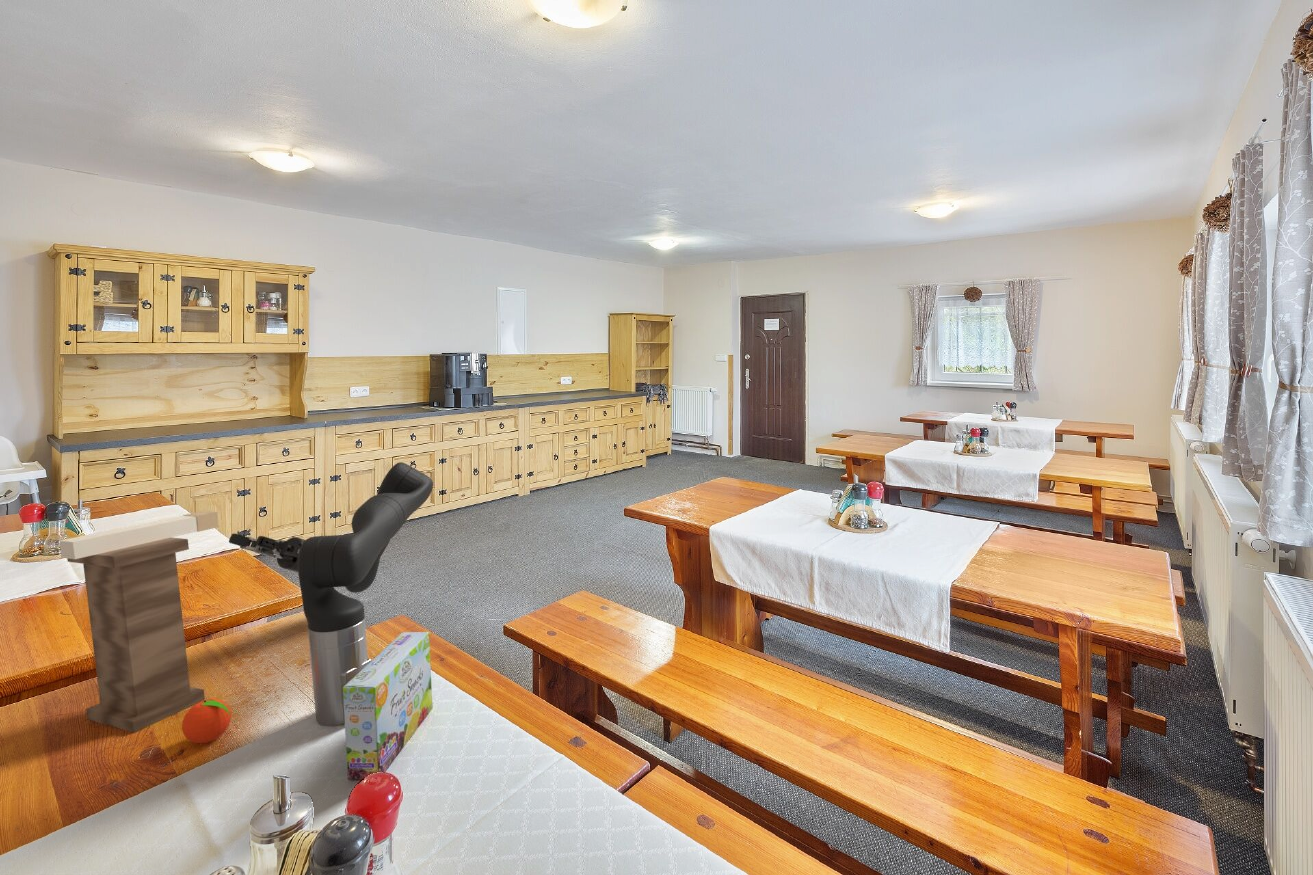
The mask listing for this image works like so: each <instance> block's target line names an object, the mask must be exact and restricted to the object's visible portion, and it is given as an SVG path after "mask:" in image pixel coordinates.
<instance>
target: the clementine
mask: <svg viewBox="0 0 1313 875" xmlns="http://www.w3.org/2000/svg"><path fill="white" fill-rule="evenodd" d="M232 715H233V714H232V710H231V708H230V707H229V705H228V704H227V703H226V702H225V701H223V700H220V699H216V698H208V699H204V700H202V701H200V702H198V703H196V704H194V705H192V706H191V707H190V708H189V710H187V712H186V713H185V715H184V716H183V720H182V723H181V730H182V734H183V735H184V737H185V738H186V739H187V740H189V741H191V742H192V743H196V744H206V743H210V742H213V741H215V740H216V739H219V738H220V737H221V736H222V735H223V734H225V732H226V731H227V729H228V728H229V727H230V725H231V722H232Z"/></svg>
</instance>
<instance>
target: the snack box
mask: <svg viewBox="0 0 1313 875" xmlns="http://www.w3.org/2000/svg"><path fill="white" fill-rule="evenodd" d="M430 647H431V644H430V631H417V632H416V631H414V632H413V631H412V632H407V631H406V632H401V633H400V634H399V635H398V636H397V637H396V638H395V639H394V640H393V641H392V642H390V643H389V644H388V645H387V646H386V647H385V648H384V649H383V650H382V651H381V652H380V653H379V654H378V655H376V656H375V657H374V658H373V659H371V660H372V661H371V662H370V663H369V664H368V665H367V666H366V667H365V668H364V669H362V670H361V671H360V672H359V673H358V674H357V675H356V676H355V677H354V678H353V679H352V680H351V681H349V682H348V683H347V684H346V685H345V686H344V687H343V700H344V717H345V724H344V728H345V729H344V731H345V746H346V748H345V750H346V765H347V767H346V768H347V780H348V781H349V780H359V781H361V780H362V779H364V778H365V777H367V776H368V775H370V774H373V773H377V772H387V770H388V769H389V767H390V766H391V764H392V763H393V762H394V761H395V759H396V758H397V757H398V755H399V754H400V752H401V751H402V750H403V748H404V747H405V746H406V745H407V743H408V742H409V741H410V739H411V738H412V736H413V735H414V733H416V731H417V729H418V728H419V727H420V726H421V725H422V724H423V722H424V721H425V719H426V718H427V717H428V715H429V714H430V712H432V710H433V707H434V705H433V688H432V672H431V671H432V669H431V648H430Z"/></svg>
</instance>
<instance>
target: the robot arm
mask: <svg viewBox="0 0 1313 875" xmlns="http://www.w3.org/2000/svg"><path fill="white" fill-rule="evenodd" d="M385 474H386V475H385V476H384V478H383V479H382V481H381V483H380V485H379V488H378V490H377V494H376V495H373V496H371V497H370V498H368V499H367V500H366V501H364V502H363V504H361V505H360V506H359V507H358V508H357V509H356V511H355V512H354V514H353V515H352V519H351V528H352V529H351V530H352V532H353V533H349V534H334V535H318V536H309V537H308V538H307V539H303V538H301V537H296V536H295V537H290V538H288V539H286V540H283V539H273V538H270V537H267V536H264V535H258V537H257V538H253V537H252V536H247V535H242V534H238V533H232V534H231V535H230V538H229V539H228V543H229V544H231V545H235V546H239V548H240V549H241V550H247V551H250V552H253V553H255V554H259V555H262V556H263V555H264V556H266V557H268V558H273V559H276V562H277V564H278V566H279V567H280V568H281V569H284V570H288V571H292V572H295V573H297V574H298V581H299V586H300V591H301V592H300V594H301V599H302V607H303V614H304V616H305V619H306V622H307V630H308V642H309V654H310V667H311V677H312V678H311V679H312V691H313V700H314V710H315V721H316V720H317V721H316V722H317V723H318V724H319V723H320V724H319V725H322V726H330V727H331V726H340V725H345V717H344V700H343V687H344V686H345V685H346V684H347V683H348V682H349V681H351V680H352V679H353V678H354V677H355V676H356V675H357V674H358V673H359V672H360V671H361V670H362V669H364V668H365V667H366V666H367V665H368V664H369V663H370V662H371V661H372V660H373V659H371V658H369V657H368V646H367V645H368V644H367V643H368V642H367V631H366V629H367V628H366V620H365V618H366V616H365V607H364V604H363V602H361V601H360V600H359V599H356V598H353V597H349V596H347V595H344V594H343V593H341V592H339V591H338V590H337V589H336V588H342V587H343V588H345V589H346V590H347V591H348V592H350V593H355V594H358V593H362V592H364V591H366V590H367V589H369V588H370V587H371V585H372V584H373V583H374V581H375V579H376V577H377V573H378V569H379V566H380V559H381V557H382V555H383V554H384V552H385V551H386V549H387V547H388V546H389V543H390V541H391V539H392V538H393V537H394V536H396V535H397V533H398V532H399V531H400V529H401V528H402V527H403V526H404V524H405V523H406V522H407V521H408V519H409V517H411V515H413V514H414V513H415V512H416V511H418V509H420V508H421V506H423V504H425V503H426V501H427V500H428V499H429V498H430V496H431V493H432V492H433V489H434V482H433V479H432V478H431V477H430V476H428V475H427V474H425V473H424V472H422V471H420V470H418V469H416V468H415V467H413V466H411V465H409V464H407V463H405V462H404V461H403V462H401V461H399V462H397V463H395V464H394V465H393V466H392V467H391V468H390V469H389V470H388V471H387V473H385Z"/></svg>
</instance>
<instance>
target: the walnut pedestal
mask: <svg viewBox="0 0 1313 875" xmlns="http://www.w3.org/2000/svg"><path fill="white" fill-rule="evenodd" d="M187 550H190V547H189V539H188V538H181V537H180V538H179V537H171V538H166V539H162V540H157V541H153V542H149V543H144V544H140V545H136V546H131V547H127V548H122V549H118V550H114V551H109V552H105V553H101V554H96V555H92V556H87V557H83V558H79V559H69V558H66V559H67V562H69V563H76V564H82V566H83V573H84V574H83V575H84V582H85V591H86V598H87V605H88V606H87V607H88V613H89V622H90V629H91V630H90V631H91V632H90V633H91V638H92V646H93V647H92V648H93V657H94V662H95V670H96V671H95V673H96V680H97V687H98V688H97V689H98V696H99V703H97V704H95V705H93V706H90V707H87V708H86V709H85V711H86V718H87V720H89V721H92V722H96V723H99V724H103V725H106V726H109V727H112V728H113V727H114V728H117V729H120V730H123V731H127V732H131V733H137V732H138V731H141V730H143V729H146V728H147V727H149V726H152V725H154V724H157V722H160V721H162V720H164V719H166V718H168V717H171V716H173V715H175V714H178V712H181V711H182V710H185V709H187V708H189V707H190V708H191V707H193V706H194V705H196V704H197V703H199V702H201V701H204V700H206V699H205V697H206V696H205V690H204V689H203V688H198V687H194V686H191V685H190V676H189V675H190V674H189V664H188V659H187V657H188V656H187V647H186V638H185V630H184V619H183V611H182V600H181V593H180V592H181V591H180V583H179V573H178V564H177V555H176V554H177V553H180V552H184V551H187Z"/></svg>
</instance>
